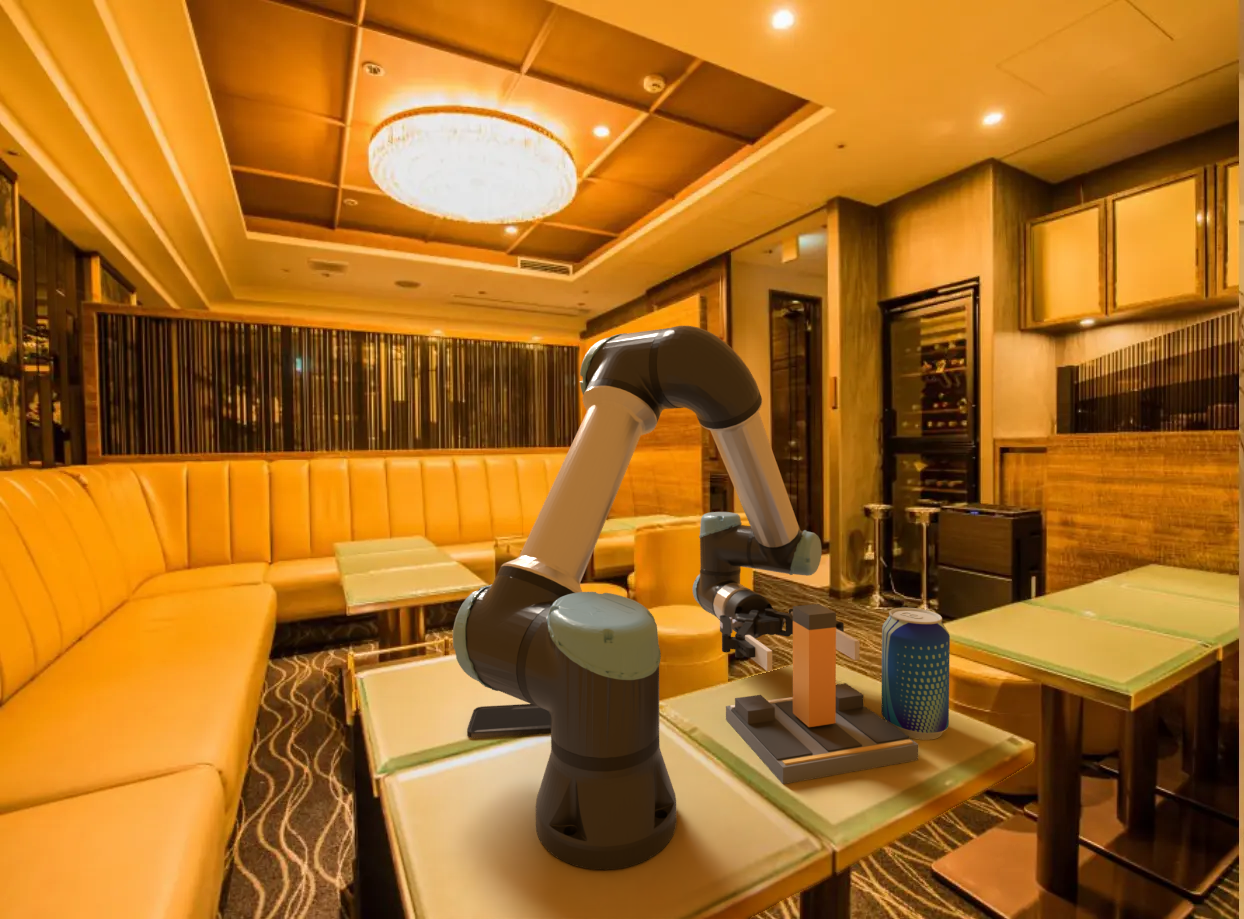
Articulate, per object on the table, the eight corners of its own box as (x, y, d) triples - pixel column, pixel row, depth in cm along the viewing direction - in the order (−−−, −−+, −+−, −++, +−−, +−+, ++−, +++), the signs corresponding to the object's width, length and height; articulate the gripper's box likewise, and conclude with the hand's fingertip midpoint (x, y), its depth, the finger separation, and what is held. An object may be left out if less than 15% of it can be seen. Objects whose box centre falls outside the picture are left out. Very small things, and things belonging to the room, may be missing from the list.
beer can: (932, 713, 85) (933, 606, 84) (960, 744, 76) (961, 625, 76) (873, 711, 85) (873, 605, 85) (894, 741, 77) (895, 623, 76)
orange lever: (808, 727, 76) (809, 615, 75) (792, 713, 80) (792, 606, 79) (835, 723, 77) (835, 612, 76) (818, 709, 81) (818, 603, 80)
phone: (575, 726, 81) (465, 733, 79) (575, 734, 81) (465, 741, 79) (574, 701, 88) (474, 706, 87) (574, 708, 88) (475, 713, 87)
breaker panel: (782, 784, 68) (782, 750, 68) (725, 719, 84) (725, 692, 83) (918, 759, 73) (918, 728, 73) (840, 703, 88) (840, 677, 88)
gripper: (807, 625, 103) (891, 672, 82) (675, 639, 97) (730, 693, 76) (807, 583, 103) (891, 620, 82) (675, 594, 96) (730, 637, 76)
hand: (814, 655), depth 79 cm, fingers open, 13 cm apart
